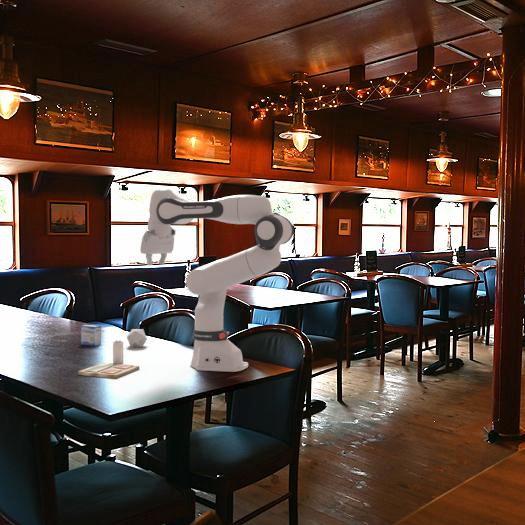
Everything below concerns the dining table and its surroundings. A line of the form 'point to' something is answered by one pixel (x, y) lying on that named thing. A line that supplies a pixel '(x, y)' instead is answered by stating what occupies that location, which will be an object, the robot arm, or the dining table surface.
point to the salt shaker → (118, 352)
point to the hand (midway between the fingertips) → (155, 264)
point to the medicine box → (91, 335)
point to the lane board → (108, 370)
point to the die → (136, 338)
